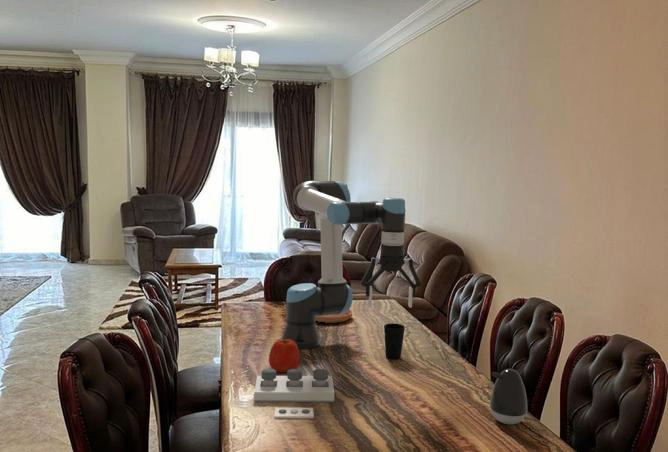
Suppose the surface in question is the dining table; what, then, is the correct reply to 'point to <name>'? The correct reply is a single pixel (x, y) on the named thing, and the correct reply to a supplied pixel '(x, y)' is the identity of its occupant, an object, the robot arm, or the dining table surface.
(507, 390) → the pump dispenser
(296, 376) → the button
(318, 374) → the button
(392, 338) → the cup
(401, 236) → the robot arm
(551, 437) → the dining table surface
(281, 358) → the apple
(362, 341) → the dining table surface
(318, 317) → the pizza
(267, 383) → the button
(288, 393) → the board
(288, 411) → the pattern card
